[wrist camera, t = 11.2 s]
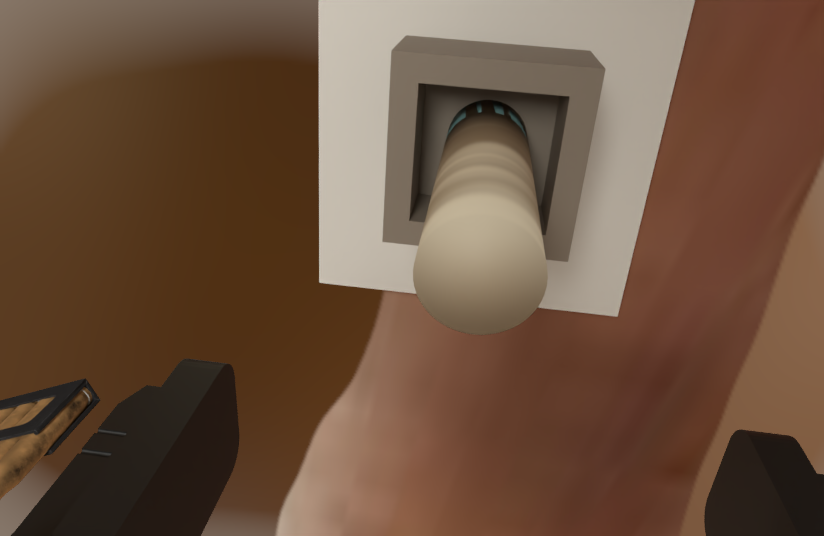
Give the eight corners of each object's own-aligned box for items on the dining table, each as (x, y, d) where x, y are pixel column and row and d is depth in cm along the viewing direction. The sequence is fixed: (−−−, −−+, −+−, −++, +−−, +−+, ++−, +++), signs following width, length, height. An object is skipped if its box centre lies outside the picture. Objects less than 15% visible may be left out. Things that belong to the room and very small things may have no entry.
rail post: (450, 96, 25) (417, 209, 15) (532, 103, 25) (557, 223, 15) (443, 173, 27) (409, 326, 16) (521, 181, 27) (536, 341, 16)
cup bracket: (327, -148, 27) (257, -184, 19) (714, -124, 26) (809, -151, 18) (325, 270, 37) (277, 362, 29) (613, 302, 35) (646, 408, 27)
